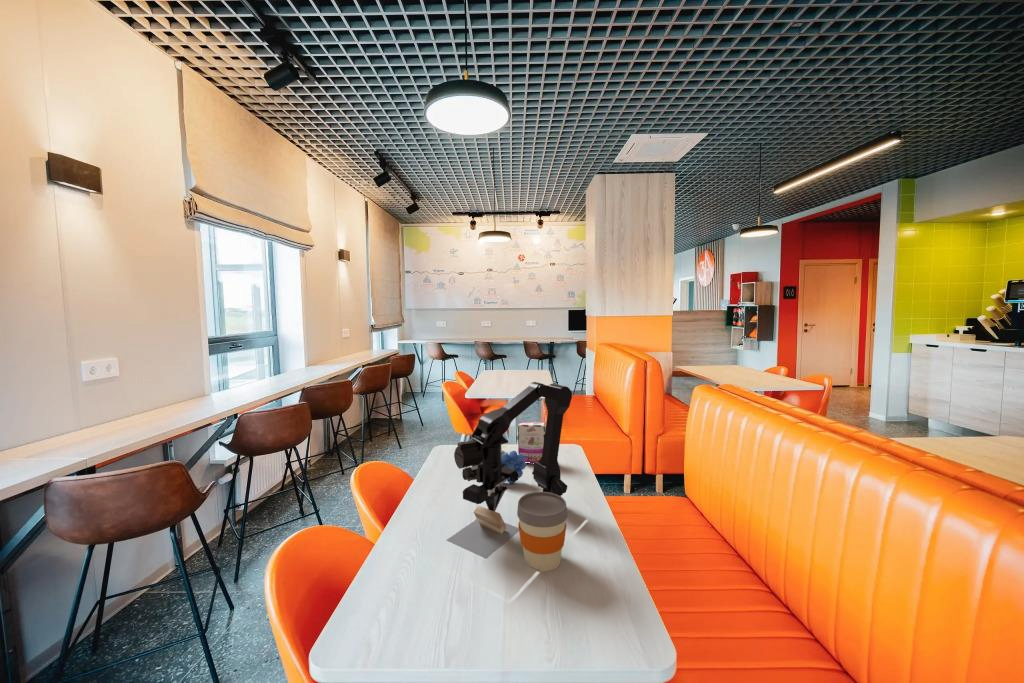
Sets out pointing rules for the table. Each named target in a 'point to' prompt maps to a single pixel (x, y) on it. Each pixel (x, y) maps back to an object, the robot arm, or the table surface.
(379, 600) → the table surface
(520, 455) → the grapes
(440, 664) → the table surface
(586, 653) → the table surface
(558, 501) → the reusable coffee cup
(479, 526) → the slate mat
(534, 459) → the candy bar box
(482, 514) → the maple tile
